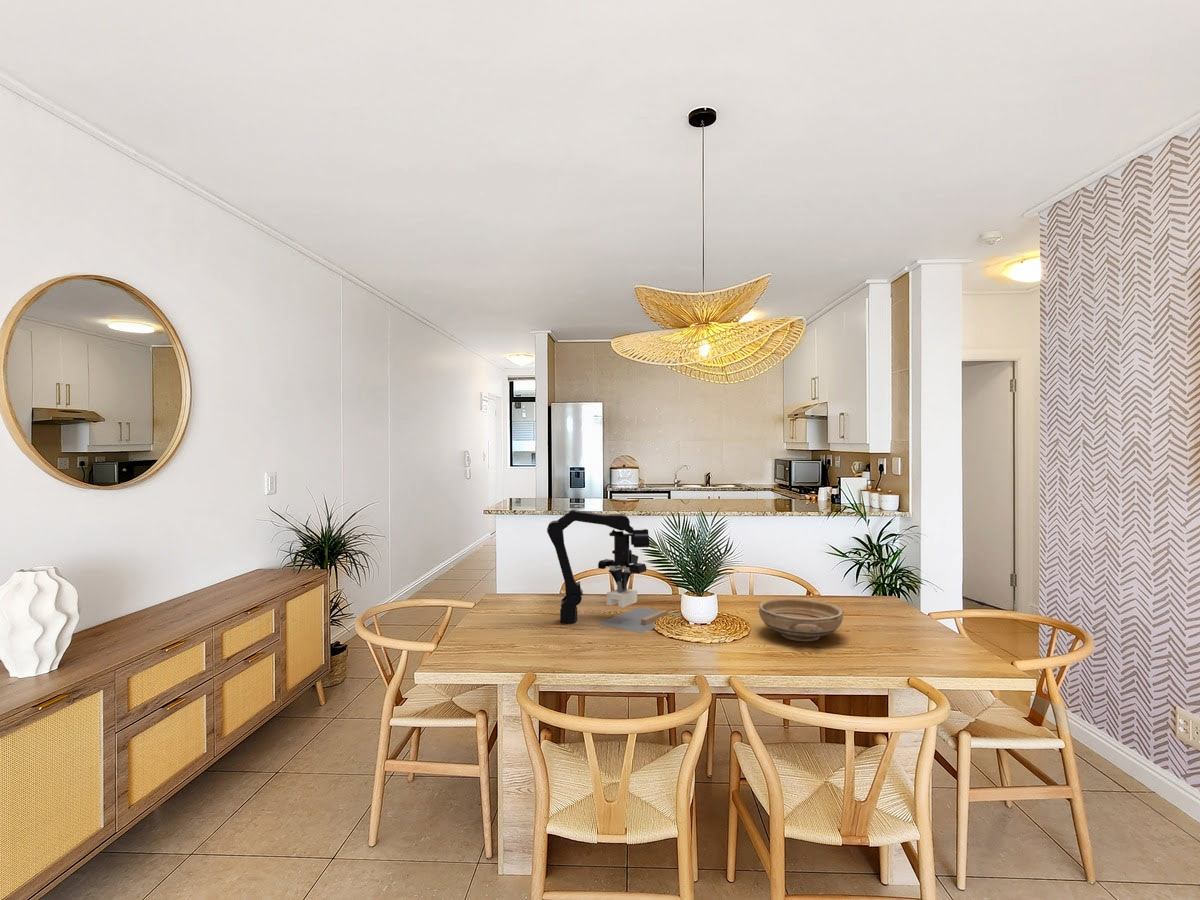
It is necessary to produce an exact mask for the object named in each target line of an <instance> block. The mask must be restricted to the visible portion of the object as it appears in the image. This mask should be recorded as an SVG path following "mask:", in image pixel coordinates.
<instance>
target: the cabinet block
mask: <svg viewBox="0 0 1200 900" xmlns="http://www.w3.org/2000/svg"><path fill="white" fill-rule="evenodd" d="M616 586H617V587H616V588H617V589H615V590H614V589H613V590H611V591H607V592H606V605H607V606H613V605H615V604H618V606H617V607H619V608H625V607H628V606H630V605H633V604H635V603H637V602H638V589H633V588H627V587H628V585H627V586H626V588H625V589H623V587H622V579H621V581H617V584H616Z"/></svg>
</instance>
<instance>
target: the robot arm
mask: <svg viewBox="0 0 1200 900" xmlns="http://www.w3.org/2000/svg"><path fill="white" fill-rule="evenodd" d="M574 522H580V523H588V524H596V525H602V526H603V525H604V526H606V527H609V528H611V529H612V531H610V532H609V533H608V535H609V536H610V537H613V541H614V545H613V547H614V549H613V550H612V554H613V558H614V559H610V558H609V559H608V558H605V559H602V560H599V561H598V563H597V569H601V570H605V569H606V568H609V570H608V573H610V575H611V576H612V578H613V579H614V582H615V584H616V585H617V581H621V580H622V587H623V589H625V588H626V586H627V587H628V582H629V579H630V577H631V575H632V574H636V575H637V574H641V573H645V572H647V565H646V564H645V563H641V562H638V561H639V556H638V555H636V554H633V552H632V549H630V546H631V545H632V546H633V548H649V547H650V538H649V536H650V535H649V530H648V529H647V528H644V529H634V527H633V526H631V525H630V524H631V523H630V519H629V517H628V516H627V515H626V514H624V513H612V514H602V513H596V512H589V511H582V510H581V511H580V510H576V509H570V510H569V511H568V512H567V513H566V514H564V515H563V516H562V517H560V518H559V519H557V520H552V521H550V522H549V523H548V525H547V528H546V532H547V534H548V537H549V538H550V541H551V543H552V545H553V546H554V549H555V553H556V556H557V560H558V563H559V566H560V570H561V574H562V577H563V580H564V581H563V582H564V587H565V588H564V590H565V596H564V597H563V598H562V599H561V600H560V609H559V613H560V615H559V622H560V624H562V625H573V624H576V623H577V621H578V605H579V604H580V603H581V602H582V598H583V597H582V596H584V594H583V592H584V590H582V587H581V581H576V579H575V576H574V574H573V570H572V566H571V563H570V558H569V556H568V552H567V549H566V545H565V537H564V530H565V529H566V528H568V527H569V526H570V525H571V524H572V523H574ZM615 529H616V530H615ZM617 530H618V531H617ZM624 531H625V532H626V533H624Z"/></svg>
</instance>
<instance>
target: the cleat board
mask: <svg viewBox="0 0 1200 900" xmlns="http://www.w3.org/2000/svg"><path fill="white" fill-rule="evenodd" d="M668 614H672V615H674V616H679V617H682V616H681V613H676V612H672V611H671V612H669V611H668V610H665V609H663V610H660V609H654V608H653V609H652V608H648V607H641V606H638V607H636V608H633V609H631V610H629V611H626V612H623V613H621V614H618V615H616V616H613V617H611V618H608V619H605V620H603V621H600V622H597V623H596V625H599V626H605V627H609V628H614V629H619V630H624V631H629V632H634V633H638V634H644V633H645V632H648V631H650V630H652V629H655V628H656V627H655V625H654V621H655V620H656V619H658V618H660V617H663V616H666V615H668Z"/></svg>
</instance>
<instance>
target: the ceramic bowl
mask: <svg viewBox="0 0 1200 900" xmlns="http://www.w3.org/2000/svg"><path fill="white" fill-rule="evenodd" d="M758 614H759V616H760V619H761V621H762V622H763V623H764V624H765V626H767V627H768V628H770V629H771V630H773V631H776V632H778V633H780V636H781V637H783V638H785V639H787V640H791V641H795V642H815V641H817V640H819V639H820V637H823V636H827V635H829V634H832V633H834V632H835V631H837V630H838V629H839V628H840V626H841V625H842V622H843V619H844V610H843V609H842V608H841V607H840V606H837V605H835V604H833V603H829V602H825V601H821V600H816V599H809V598H800V597H780V598H771V599H766V600H763V601H761V602H759V603H758Z"/></svg>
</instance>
